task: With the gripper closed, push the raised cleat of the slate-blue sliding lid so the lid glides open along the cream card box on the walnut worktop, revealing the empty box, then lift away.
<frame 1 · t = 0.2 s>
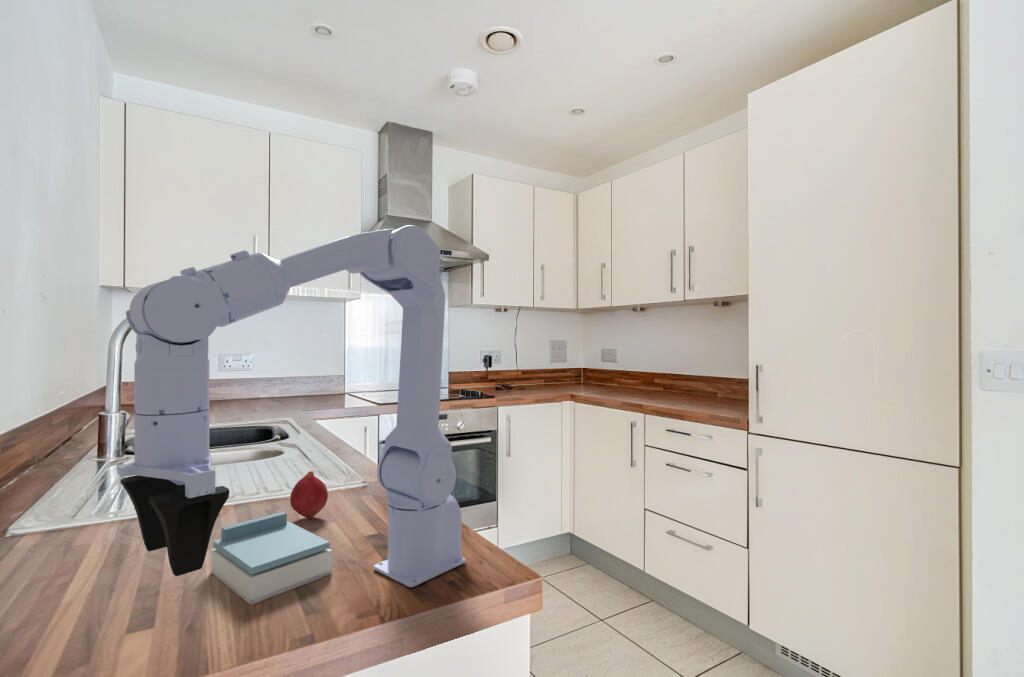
hand: (173, 558, 46), 10 cm above the worktop, tool pointing down, fingers open, 7 cm apart
onion: (309, 519, 85), on the worktop
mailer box: (271, 573, 65), on the worktop
lid: (271, 538, 65), point 5 cm above the worktop, slide at 0.0 cm
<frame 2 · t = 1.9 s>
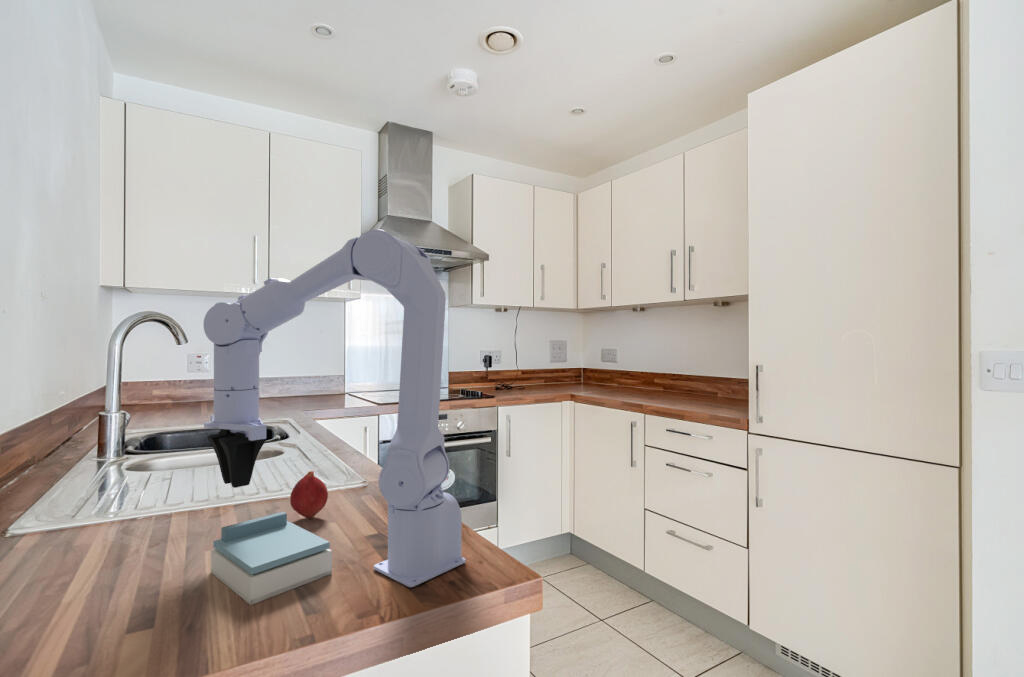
hand: (236, 484, 72), 9 cm above the worktop, tool pointing down, fingers closed
nothing on the worktop moved.
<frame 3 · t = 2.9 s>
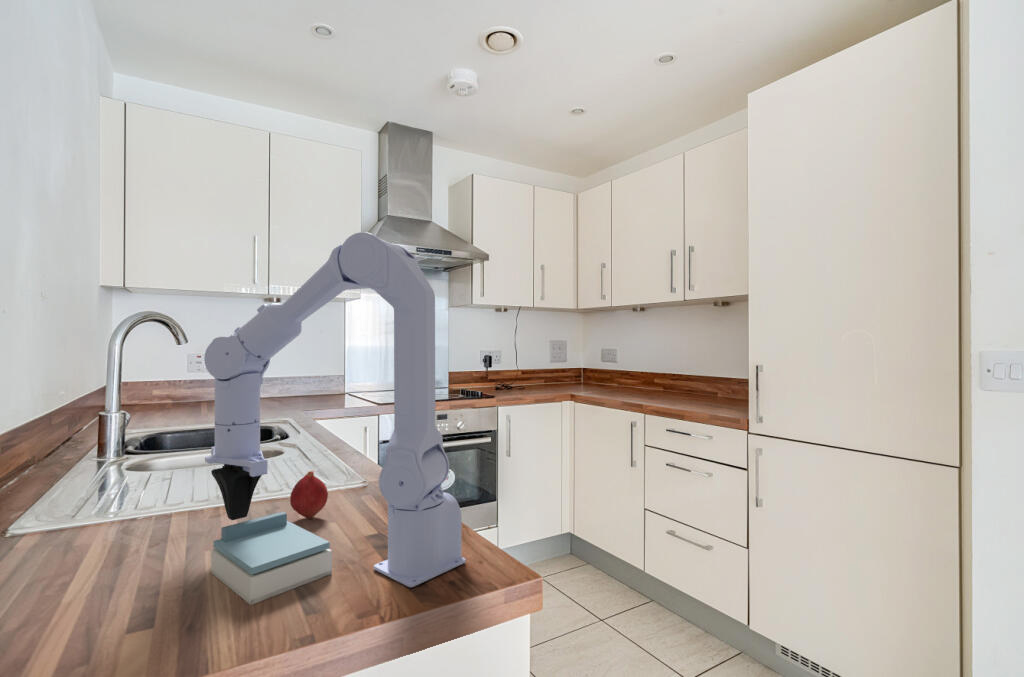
hand: (237, 517, 72), 5 cm above the worktop, tool pointing down, fingers closed
nothing on the worktop moved.
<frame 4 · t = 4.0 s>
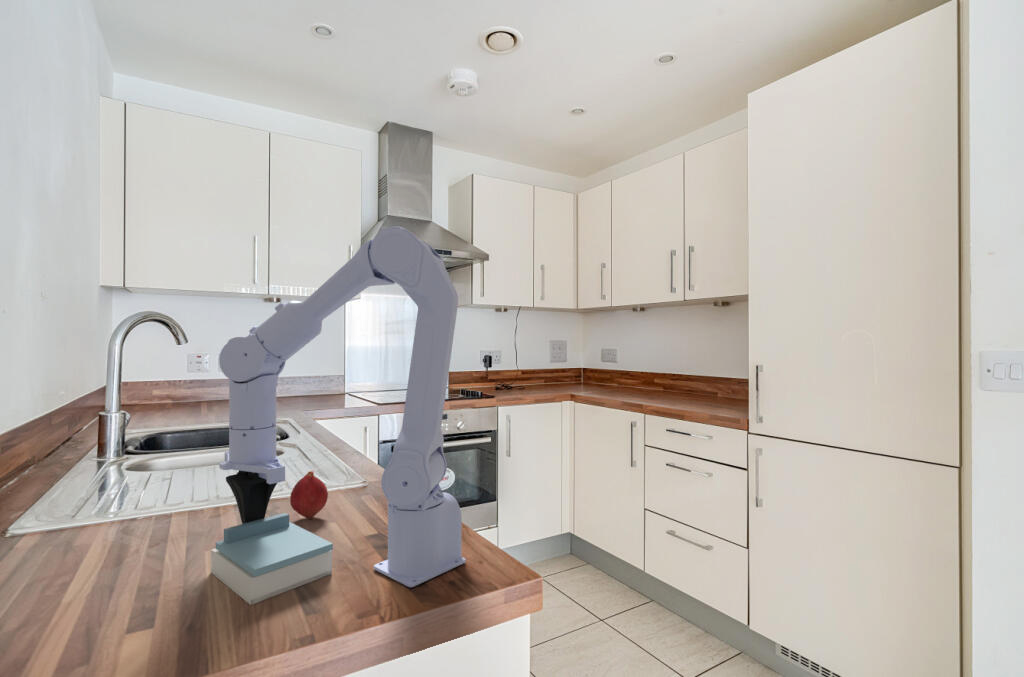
hand: (253, 526, 69), 5 cm above the worktop, tool pointing down, fingers closed
lid: (274, 539, 65), point 4 cm above the worktop, slide at 0.8 cm, touching gripper
everything else where it was.
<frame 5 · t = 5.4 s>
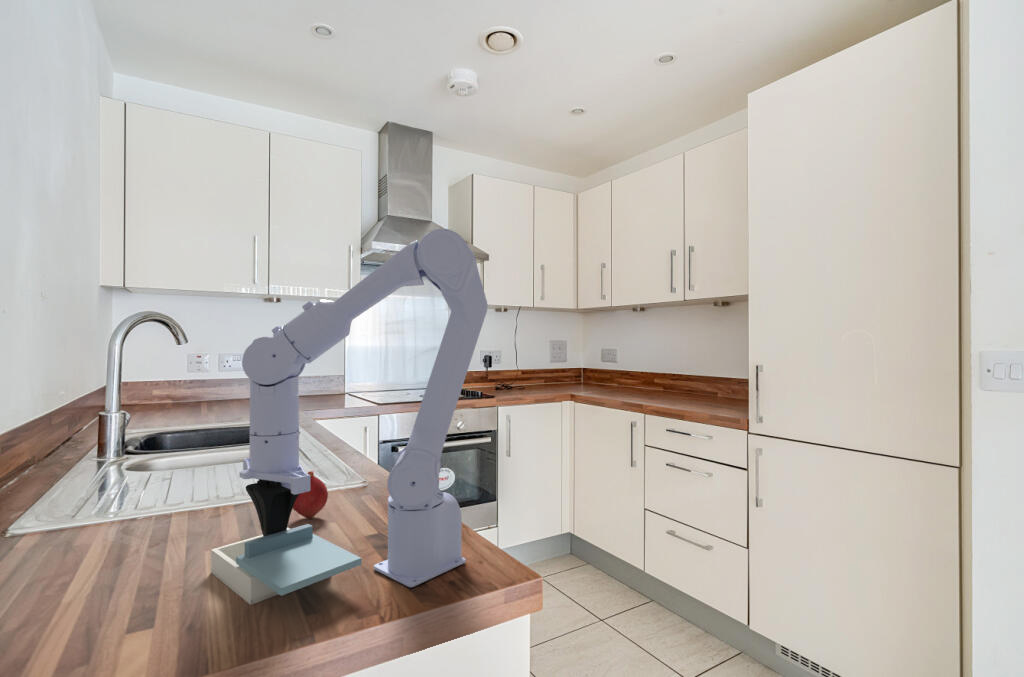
hand: (274, 538, 65), 5 cm above the worktop, tool pointing down, fingers closed
lid: (298, 554, 60), point 5 cm above the worktop, slide at 7.2 cm, touching gripper
everything else where it was.
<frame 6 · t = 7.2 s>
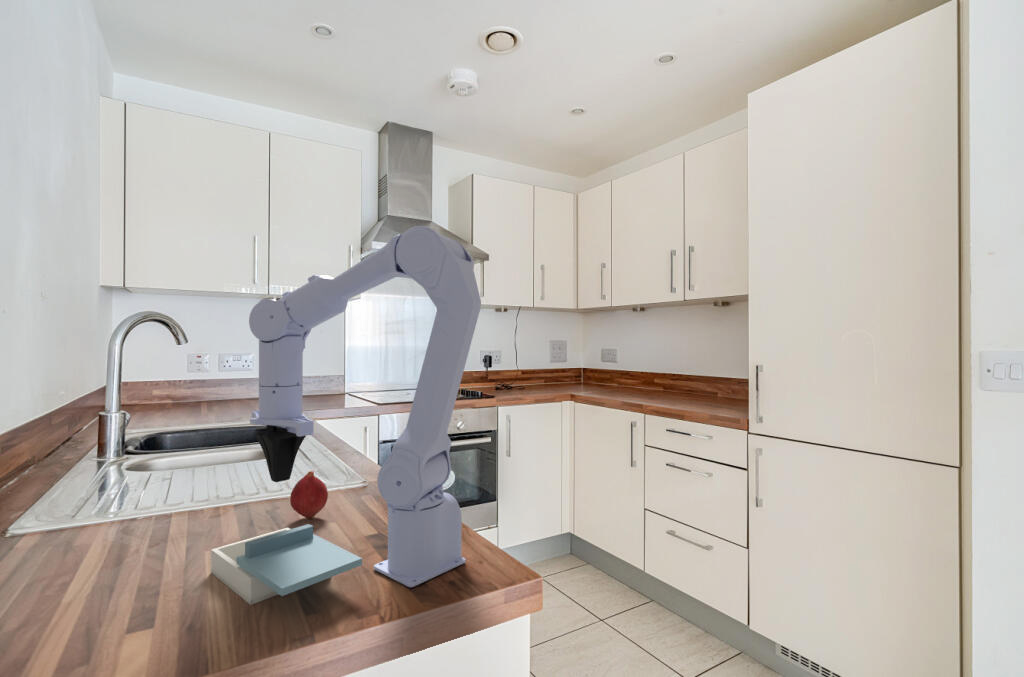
hand: (280, 480, 72), 10 cm above the worktop, tool pointing down, fingers closed
lid: (299, 554, 60), point 5 cm above the worktop, slide at 7.3 cm
everything else where it was.
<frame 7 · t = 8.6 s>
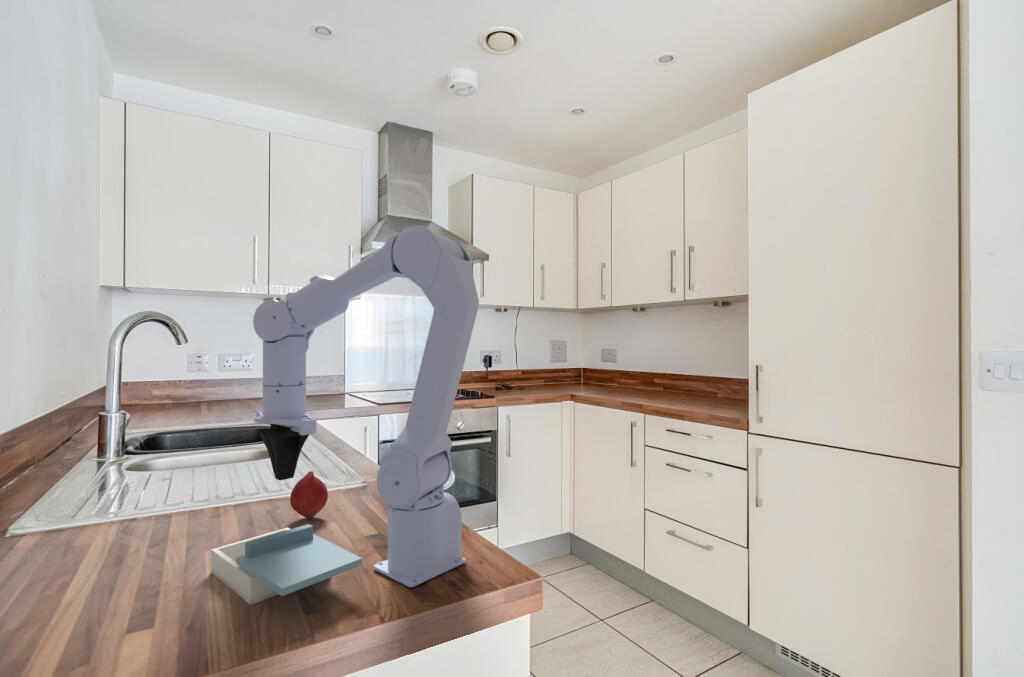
hand: (284, 478, 73), 10 cm above the worktop, tool pointing down, fingers closed
nothing on the worktop moved.
at the end: lid slide at 7.3 cm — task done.
